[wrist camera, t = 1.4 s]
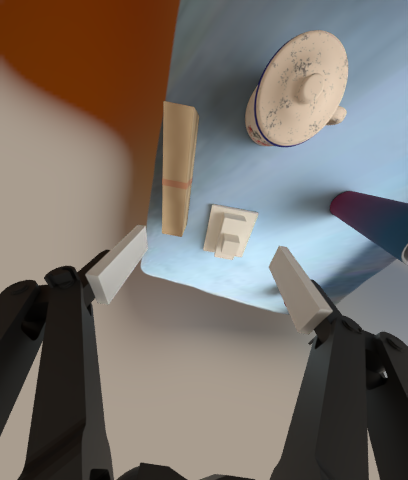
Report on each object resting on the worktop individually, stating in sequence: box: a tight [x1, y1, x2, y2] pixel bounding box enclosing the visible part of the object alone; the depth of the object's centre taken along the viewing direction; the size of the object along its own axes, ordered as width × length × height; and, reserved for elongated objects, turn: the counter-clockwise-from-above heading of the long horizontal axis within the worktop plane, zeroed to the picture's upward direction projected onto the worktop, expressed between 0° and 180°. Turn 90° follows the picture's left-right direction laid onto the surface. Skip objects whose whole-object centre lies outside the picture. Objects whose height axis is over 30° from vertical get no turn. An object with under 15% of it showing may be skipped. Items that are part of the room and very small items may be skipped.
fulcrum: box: [203, 204, 258, 260], centre depth 32 cm, size 12×10×7 cm
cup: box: [330, 191, 408, 265], centre depth 23 cm, size 7×7×15 cm
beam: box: [162, 101, 199, 237], centre depth 27 cm, size 4×20×6 cm, turn 170°
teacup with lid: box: [245, 30, 348, 147], centre depth 18 cm, size 12×9×12 cm
